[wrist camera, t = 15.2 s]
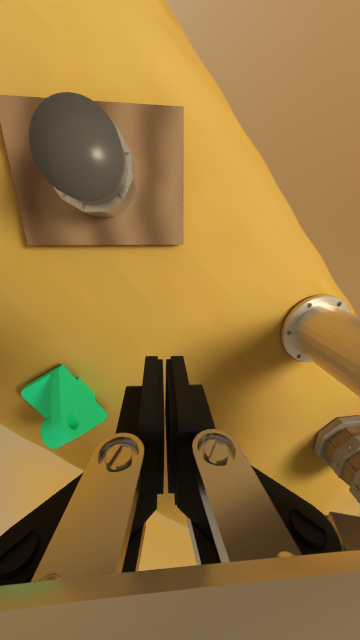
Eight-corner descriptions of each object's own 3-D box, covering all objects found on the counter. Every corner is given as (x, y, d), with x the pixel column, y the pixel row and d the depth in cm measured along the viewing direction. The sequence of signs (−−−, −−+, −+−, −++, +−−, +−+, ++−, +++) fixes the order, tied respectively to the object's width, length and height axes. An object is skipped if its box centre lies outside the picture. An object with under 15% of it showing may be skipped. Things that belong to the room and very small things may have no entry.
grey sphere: (126, 135, 24) (117, 95, 17) (131, 209, 26) (125, 199, 19) (56, 131, 23) (18, 88, 16) (68, 208, 25) (39, 197, 19)
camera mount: (26, 382, 37) (-17, 432, 28) (65, 360, 37) (35, 403, 27) (73, 428, 42) (50, 485, 32) (108, 409, 41) (95, 461, 32)
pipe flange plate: (181, 115, 28) (192, 70, 20) (181, 244, 33) (190, 245, 25) (5, 105, 25) (-55, 49, 18) (35, 245, 30) (-3, 247, 23)
